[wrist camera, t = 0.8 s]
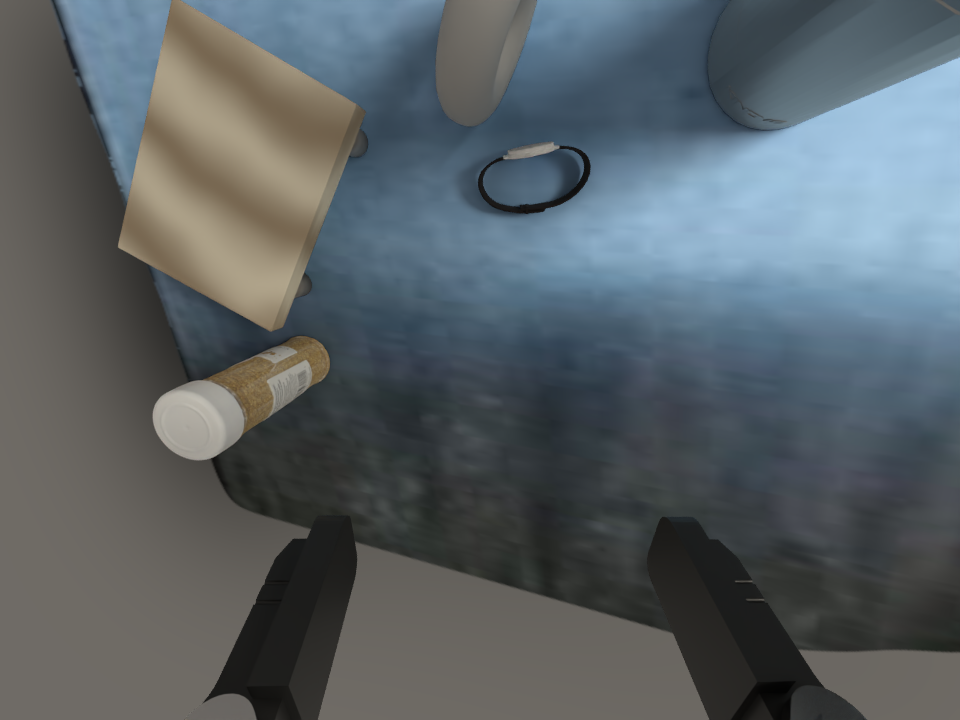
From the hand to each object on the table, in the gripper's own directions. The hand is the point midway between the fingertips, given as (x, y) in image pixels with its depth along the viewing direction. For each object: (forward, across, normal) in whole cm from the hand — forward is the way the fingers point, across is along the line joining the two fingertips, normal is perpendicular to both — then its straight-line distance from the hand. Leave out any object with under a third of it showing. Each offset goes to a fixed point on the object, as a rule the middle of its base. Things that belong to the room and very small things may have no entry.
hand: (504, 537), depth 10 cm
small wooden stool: (+28, +16, -5) cm, 32 cm away
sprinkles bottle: (+25, +15, +8) cm, 30 cm away
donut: (+27, -1, -14) cm, 30 cm away
